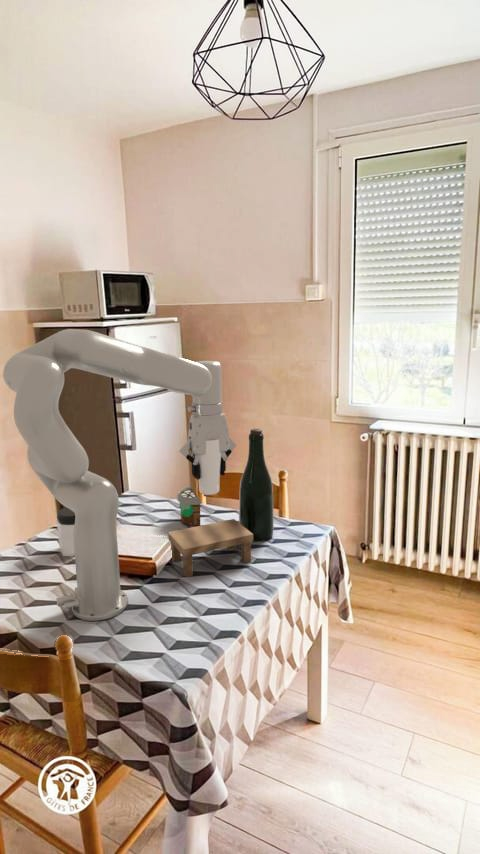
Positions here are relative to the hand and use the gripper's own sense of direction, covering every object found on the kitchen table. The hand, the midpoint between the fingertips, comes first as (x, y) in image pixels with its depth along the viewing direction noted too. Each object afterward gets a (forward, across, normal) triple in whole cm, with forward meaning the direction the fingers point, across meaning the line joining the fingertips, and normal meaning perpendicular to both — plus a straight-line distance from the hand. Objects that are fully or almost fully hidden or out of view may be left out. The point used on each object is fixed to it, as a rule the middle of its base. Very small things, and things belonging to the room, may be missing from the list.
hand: (209, 475), depth 139 cm
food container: (+25, +4, +28) cm, 38 cm away
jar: (+25, -32, +24) cm, 47 cm away
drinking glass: (+5, 0, 0) cm, 5 cm away
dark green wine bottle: (+25, +19, +9) cm, 32 cm away
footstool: (+24, 0, 0) cm, 24 cm away
